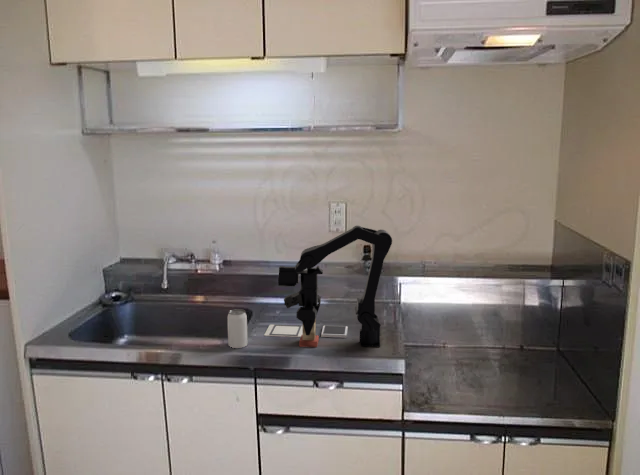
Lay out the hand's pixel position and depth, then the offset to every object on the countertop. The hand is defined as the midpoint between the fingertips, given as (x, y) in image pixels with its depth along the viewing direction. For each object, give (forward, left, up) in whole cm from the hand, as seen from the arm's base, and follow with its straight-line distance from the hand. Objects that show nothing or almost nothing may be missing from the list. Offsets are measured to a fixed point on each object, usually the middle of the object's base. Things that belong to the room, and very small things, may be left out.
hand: (309, 330), depth 176 cm
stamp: (0, 0, -5) cm, 5 cm away
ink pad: (-8, -11, -5) cm, 14 cm away
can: (+24, +4, -5) cm, 25 cm away
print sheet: (+10, -11, -5) cm, 16 cm away
